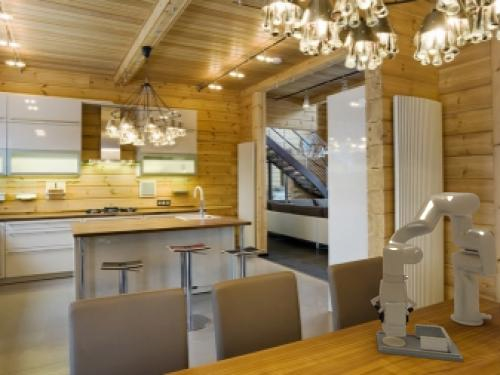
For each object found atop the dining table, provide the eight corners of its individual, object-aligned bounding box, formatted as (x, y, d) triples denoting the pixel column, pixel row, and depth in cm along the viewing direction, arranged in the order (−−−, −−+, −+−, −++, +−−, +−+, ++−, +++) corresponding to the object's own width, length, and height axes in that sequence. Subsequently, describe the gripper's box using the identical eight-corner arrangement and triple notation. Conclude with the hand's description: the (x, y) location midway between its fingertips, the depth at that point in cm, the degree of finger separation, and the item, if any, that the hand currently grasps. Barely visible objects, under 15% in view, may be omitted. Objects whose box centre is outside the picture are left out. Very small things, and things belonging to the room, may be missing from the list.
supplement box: (400, 329, 143) (400, 297, 143) (406, 337, 136) (406, 304, 136) (381, 328, 144) (381, 297, 144) (386, 336, 137) (386, 303, 136)
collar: (442, 339, 141) (442, 326, 141) (451, 353, 129) (451, 340, 129) (415, 336, 144) (415, 324, 143) (420, 350, 132) (420, 337, 132)
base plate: (451, 342, 142) (451, 337, 142) (463, 362, 126) (463, 356, 126) (376, 334, 149) (376, 330, 149) (378, 352, 134) (378, 347, 134)
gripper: (416, 276, 141) (416, 321, 141) (369, 274, 146) (369, 317, 146) (419, 282, 134) (419, 329, 134) (370, 279, 138) (370, 324, 139)
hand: (393, 322), depth 140 cm, fingers closed on supplement box, 8 cm apart
